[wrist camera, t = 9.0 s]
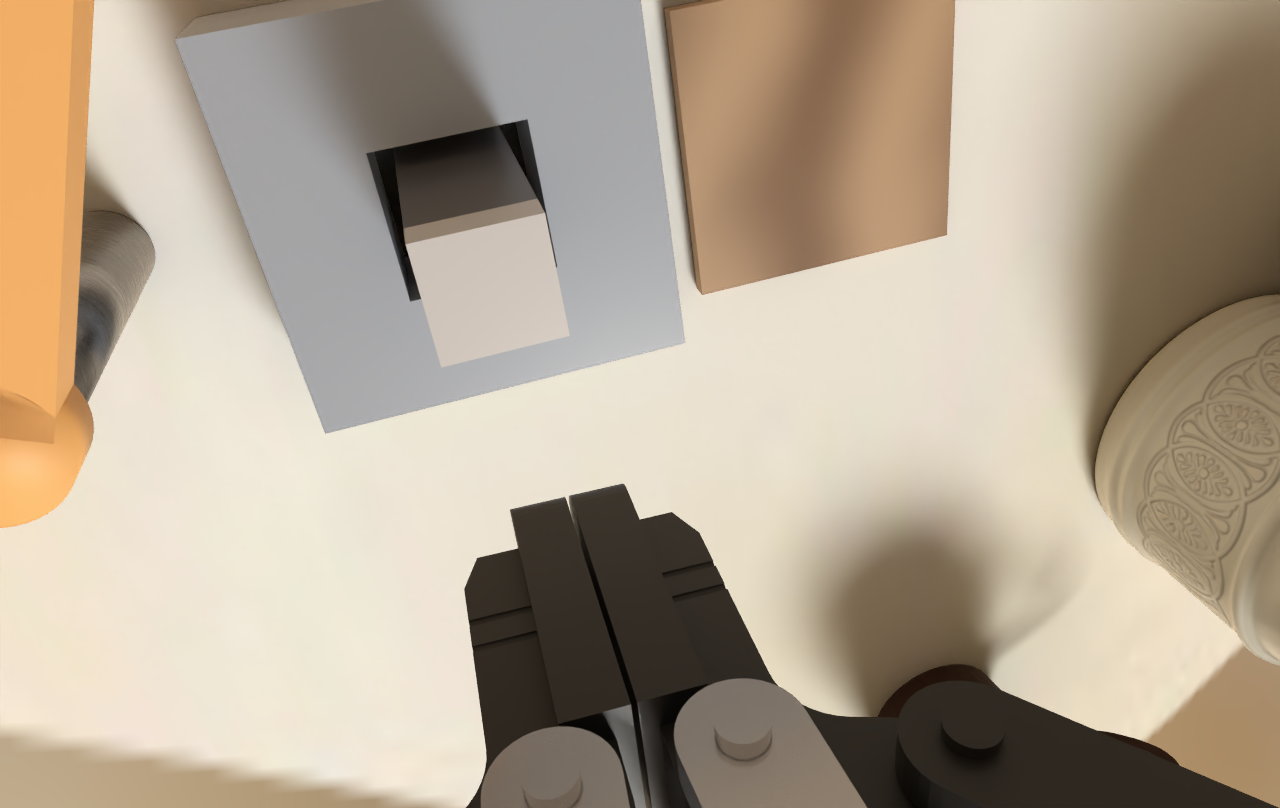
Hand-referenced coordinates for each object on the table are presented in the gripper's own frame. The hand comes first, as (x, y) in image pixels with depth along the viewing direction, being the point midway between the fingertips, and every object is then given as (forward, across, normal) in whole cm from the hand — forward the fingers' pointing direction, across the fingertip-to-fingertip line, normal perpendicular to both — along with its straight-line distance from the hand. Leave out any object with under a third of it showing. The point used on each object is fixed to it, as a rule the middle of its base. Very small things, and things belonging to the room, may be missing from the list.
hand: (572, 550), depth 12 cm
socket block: (+19, 0, 0) cm, 19 cm away
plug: (+19, 0, 0) cm, 19 cm away
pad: (+19, -12, +1) cm, 22 cm away
